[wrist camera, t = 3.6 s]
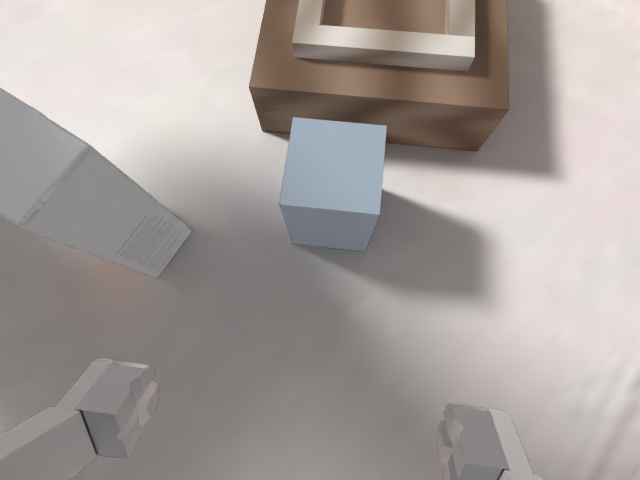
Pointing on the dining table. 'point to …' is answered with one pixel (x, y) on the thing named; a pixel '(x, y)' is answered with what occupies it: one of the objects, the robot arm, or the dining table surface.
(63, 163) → the skincare box
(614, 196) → the dining table surface
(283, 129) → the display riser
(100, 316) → the dining table surface
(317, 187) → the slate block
